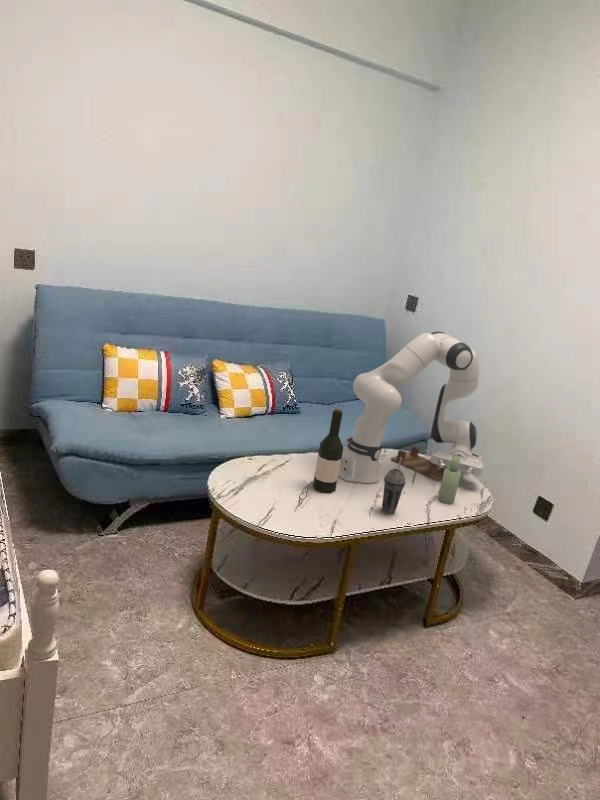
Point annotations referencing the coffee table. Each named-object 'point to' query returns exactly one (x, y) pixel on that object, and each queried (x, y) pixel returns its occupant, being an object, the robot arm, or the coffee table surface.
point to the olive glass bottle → (450, 482)
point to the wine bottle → (329, 457)
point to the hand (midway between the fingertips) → (454, 469)
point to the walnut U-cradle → (419, 463)
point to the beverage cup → (392, 490)
